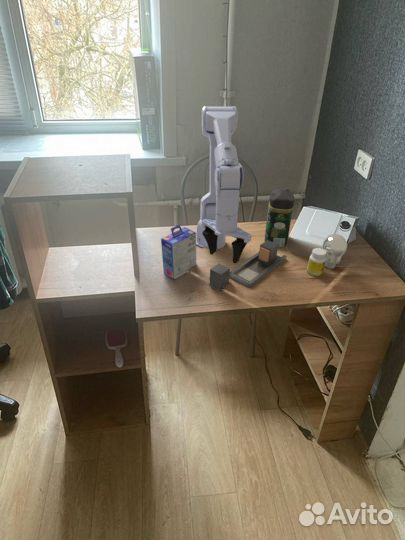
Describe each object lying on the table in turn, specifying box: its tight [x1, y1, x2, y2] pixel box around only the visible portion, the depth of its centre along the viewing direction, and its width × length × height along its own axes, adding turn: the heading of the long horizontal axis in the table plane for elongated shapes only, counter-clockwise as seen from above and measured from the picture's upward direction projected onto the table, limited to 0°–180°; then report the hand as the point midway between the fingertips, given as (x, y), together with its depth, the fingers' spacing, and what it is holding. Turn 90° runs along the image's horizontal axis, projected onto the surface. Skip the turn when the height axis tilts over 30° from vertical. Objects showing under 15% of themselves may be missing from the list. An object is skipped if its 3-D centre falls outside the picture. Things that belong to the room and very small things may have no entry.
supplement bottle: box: [306, 247, 326, 277], centre depth 118 cm, size 5×5×8 cm
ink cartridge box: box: [160, 224, 197, 280], centre depth 116 cm, size 10×6×14 cm, turn 137°
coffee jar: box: [264, 187, 295, 248], centre depth 130 cm, size 10×8×19 cm
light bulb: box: [322, 233, 348, 270], centre depth 119 cm, size 7×7×12 cm
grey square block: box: [209, 262, 231, 292], centre depth 113 cm, size 4×5×6 cm
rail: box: [229, 251, 287, 289], centre depth 120 cm, size 8×20×2 cm, turn 139°
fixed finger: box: [258, 240, 279, 266], centre depth 122 cm, size 4×5×6 cm
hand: (224, 257), depth 108 cm, fingers open, 7 cm apart
